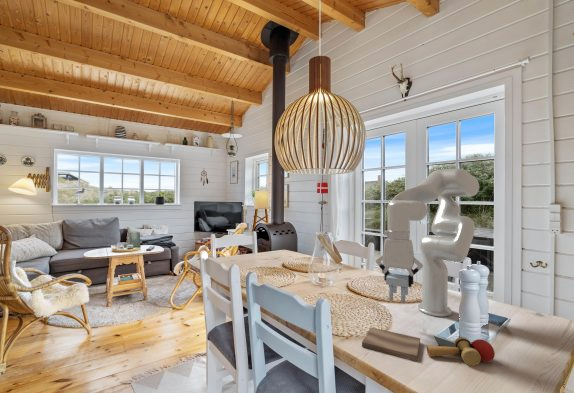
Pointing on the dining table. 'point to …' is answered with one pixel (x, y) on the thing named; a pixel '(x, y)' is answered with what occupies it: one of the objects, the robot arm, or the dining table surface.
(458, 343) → the kendama
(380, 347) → the walnut board
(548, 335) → the dining table surface
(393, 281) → the stool
